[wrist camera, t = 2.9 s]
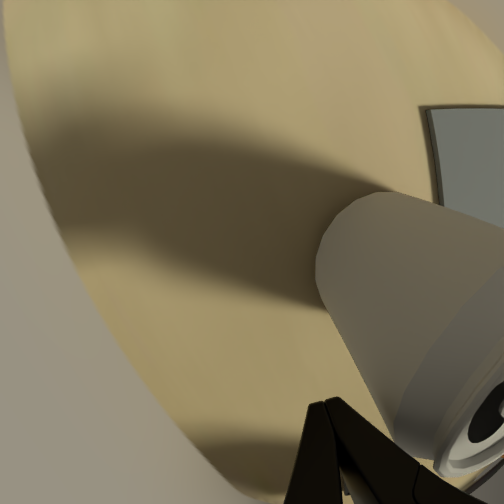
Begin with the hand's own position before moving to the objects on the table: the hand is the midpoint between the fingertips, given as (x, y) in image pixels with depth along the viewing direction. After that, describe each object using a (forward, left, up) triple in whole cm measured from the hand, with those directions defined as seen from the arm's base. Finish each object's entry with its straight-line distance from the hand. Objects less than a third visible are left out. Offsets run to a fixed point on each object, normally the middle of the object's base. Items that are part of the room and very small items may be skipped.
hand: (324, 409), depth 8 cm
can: (0, -5, -9) cm, 11 cm away
